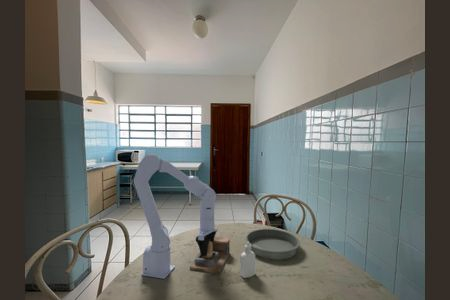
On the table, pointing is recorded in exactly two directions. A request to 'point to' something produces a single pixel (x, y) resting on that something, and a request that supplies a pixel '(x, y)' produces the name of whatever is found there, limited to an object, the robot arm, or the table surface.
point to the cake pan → (273, 243)
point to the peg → (209, 252)
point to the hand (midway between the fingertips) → (207, 250)
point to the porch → (213, 257)
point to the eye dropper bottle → (247, 262)
